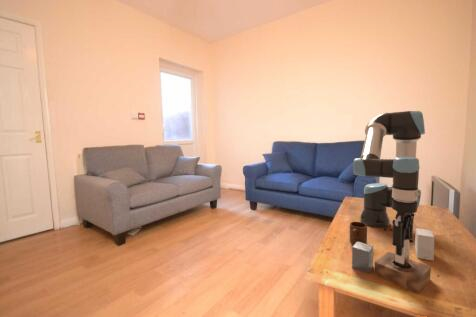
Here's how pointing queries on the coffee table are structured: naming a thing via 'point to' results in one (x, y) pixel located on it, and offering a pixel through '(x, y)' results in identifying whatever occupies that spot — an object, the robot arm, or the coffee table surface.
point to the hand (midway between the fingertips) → (402, 260)
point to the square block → (362, 257)
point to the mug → (358, 232)
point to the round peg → (406, 259)
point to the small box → (424, 244)
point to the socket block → (403, 272)
